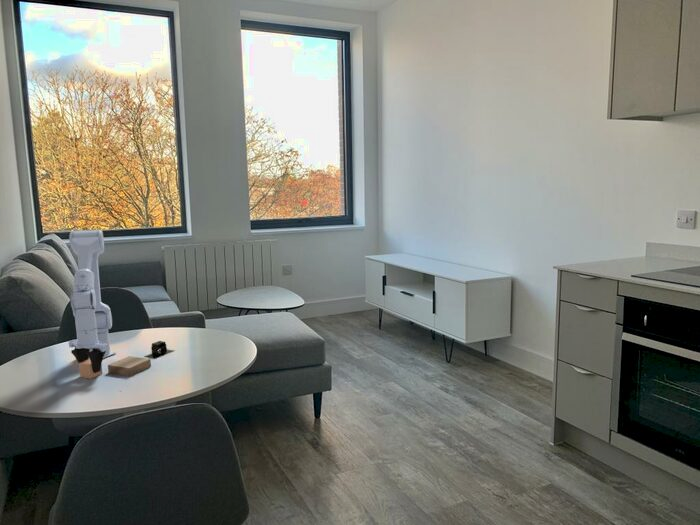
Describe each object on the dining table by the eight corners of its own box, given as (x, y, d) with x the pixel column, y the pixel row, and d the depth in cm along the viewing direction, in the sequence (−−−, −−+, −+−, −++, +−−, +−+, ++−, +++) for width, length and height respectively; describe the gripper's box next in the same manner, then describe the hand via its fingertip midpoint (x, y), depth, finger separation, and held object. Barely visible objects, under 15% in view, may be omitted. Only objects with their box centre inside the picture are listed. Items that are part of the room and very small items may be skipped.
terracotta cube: (80, 376, 168) (78, 363, 168) (92, 371, 173) (90, 358, 172) (90, 378, 167) (89, 364, 166) (102, 373, 171) (101, 359, 170)
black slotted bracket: (152, 362, 182) (151, 349, 181) (137, 359, 186) (136, 346, 185) (180, 351, 193) (179, 339, 192) (165, 348, 196) (164, 336, 196)
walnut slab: (108, 374, 172) (107, 365, 171) (130, 364, 180) (129, 356, 179) (130, 377, 168) (129, 368, 168) (151, 367, 176) (150, 359, 176)
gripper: (58, 330, 166) (63, 372, 169) (93, 334, 161) (97, 378, 163) (77, 324, 173) (82, 365, 175) (111, 328, 167) (115, 370, 169)
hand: (90, 370), depth 169 cm, fingers closed on terracotta cube, 4 cm apart
